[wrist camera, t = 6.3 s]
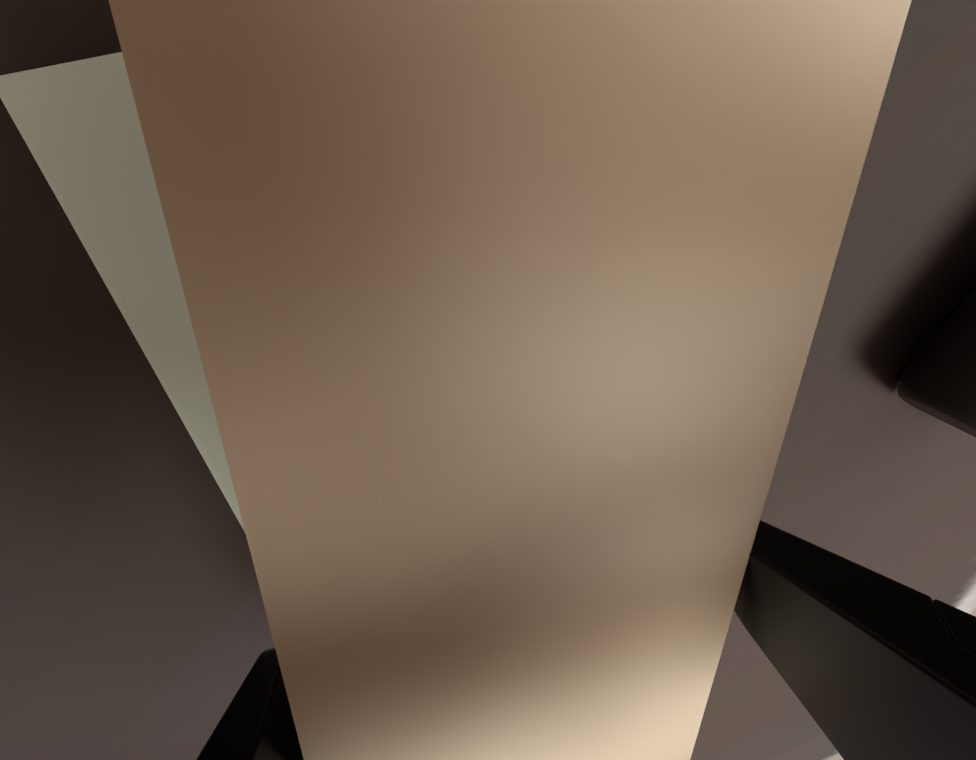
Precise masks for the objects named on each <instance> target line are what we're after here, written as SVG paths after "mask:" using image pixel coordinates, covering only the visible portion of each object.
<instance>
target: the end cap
mask: <svg viewBox="0 0 976 760" xmlns="http://www.w3.org/2000/svg"><path fill="white" fill-rule="evenodd" d="M896 383H897V384H899V387H898V389H897V391H898V395H899V396H900V397H901V398H902V399H903V400H904V401H906V402H907V403H909V404H910V405H911V406H913V407H915V408H917V409H919V410H921V411H923V412H926V413H928V414H930V415H932V416H934V417H936V418H938V419H940V420H942V421H944V422H946V423H948V424H950V425H952V426H954V427H956V428H958V429H960V430H962V431H964V432H966V433H968V434H970V435H972V436H974V437H976V287H975V288H974V289H973V291H972V292H971V293H970V294H969V295H968V297H967V298H966V299H965V300H964V301H963V302H962V304H961V305H960V306H959V307H958V308H957V310H956V311H955V312H954V313H953V314H952V315H951V317H950V318H949V319H948V320H947V321H946V323H945V324H944V325H943V326H942V327H941V328H940V330H939V331H938V332H937V333H936V334H935V336H934V337H933V338H932V339H931V340H930V341H929V343H928V344H927V345H926V346H925V347H924V349H923V350H922V351H921V352H920V353H919V354H918V356H917V357H916V358H915V359H914V360H913V361H912V363H911V364H910V365H909V366H908V367H907V369H906V370H905V371H904V372H903V373H902V374H901V376H900V377H899V378H898V379H897V381H896Z"/></svg>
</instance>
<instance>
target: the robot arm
mask: <svg viewBox="0 0 976 760" xmlns="http://www.w3.org/2000/svg"><path fill="white" fill-rule="evenodd" d="M734 611H735V612H736V614H737V616H738V617H739V619H740V620H741V622H742V624H743V625H744V626H745V628H746V629H747V631H748V632H749V633H750V635H751V636H752V637H753V639H754V640H755V641H756V643H757V644H758V645H759V647H760V648H761V649H762V651H763V652H764V653H765V655H766V656H767V657H768V659H769V660H770V661H771V663H772V664H773V665H774V667H775V668H776V669H777V671H778V672H779V673H780V675H781V676H782V677H783V679H784V680H785V681H786V683H787V684H788V685H789V687H790V688H791V689H792V691H793V692H794V693H795V695H796V696H797V697H798V699H799V700H800V701H801V703H802V704H803V705H804V707H805V708H806V709H807V711H808V712H809V713H810V715H811V716H812V717H813V719H814V720H815V722H816V723H817V724H818V726H819V727H820V728H821V730H822V731H823V732H824V734H825V735H826V736H827V738H828V739H829V740H830V742H831V743H832V744H833V746H834V747H835V748H836V750H837V751H838V752H839V754H840V755H841V756H842V757H843V759H844V760H976V617H975V616H973V615H970V614H968V613H966V612H963V611H961V610H959V609H957V608H955V607H952V606H950V605H948V604H946V603H943V602H941V601H939V600H932V599H931V597H929V596H927V595H925V594H923V593H921V592H919V591H916V590H914V589H912V588H910V587H907V586H905V585H903V584H901V583H899V582H896V581H894V580H892V579H890V578H887V577H885V576H883V575H881V574H879V573H876V572H874V571H872V570H870V569H867V568H865V567H863V566H861V565H859V564H856V563H854V562H852V561H850V560H847V559H845V558H843V557H841V556H839V555H836V554H834V553H832V552H830V551H827V550H825V549H823V548H821V547H819V546H816V545H814V544H812V543H810V542H807V541H805V540H803V539H801V538H798V537H796V536H794V535H792V534H790V533H787V532H785V531H783V530H781V529H778V528H776V527H774V526H772V525H770V524H767V523H765V522H763V521H761V520H760V522H759V525H758V528H757V532H756V535H755V539H754V542H753V546H752V549H751V552H750V554H749V559H748V563H747V566H746V570H745V573H744V576H743V580H742V583H741V587H740V590H739V594H738V597H737V601H736V604H735V607H734ZM197 760H304V759H303V755H302V751H301V747H300V743H299V739H298V735H297V731H296V728H295V724H294V720H293V716H292V712H291V708H290V704H289V700H288V696H287V693H286V689H285V685H284V681H283V677H282V673H281V669H280V665H279V661H278V657H277V654H276V650H275V647H274V648H271V649H268V650H265V651H264V652H262V653H261V654H260V656H259V657H258V659H257V660H256V662H255V664H254V665H253V667H252V669H251V670H250V672H249V674H248V675H247V677H246V678H245V680H244V682H243V683H242V685H241V687H240V688H239V690H238V692H237V693H236V695H235V697H234V698H233V700H232V702H231V703H230V705H229V707H228V708H227V710H226V712H225V713H224V715H223V717H222V718H221V720H220V721H219V723H218V725H217V726H216V728H215V730H214V731H213V733H212V735H211V736H210V738H209V740H208V741H207V743H206V745H205V746H204V748H203V750H202V751H201V753H200V755H199V756H198V758H197Z"/></svg>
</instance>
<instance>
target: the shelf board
mask: <svg viewBox="0 0 976 760" xmlns="http://www.w3.org/2000/svg"><path fill="white" fill-rule="evenodd" d="M109 4H110V8H111V12H112V15H113V19H114V23H115V27H116V31H117V35H118V39H119V43H120V47H121V50H122V54H123V58H124V62H125V66H126V70H127V74H128V78H129V82H130V86H131V89H132V93H133V97H134V101H135V105H136V109H137V113H138V117H139V121H140V124H141V128H142V132H143V136H144V140H145V144H146V148H147V152H148V156H149V159H150V163H151V167H152V171H153V175H154V179H155V183H156V187H157V191H158V194H159V198H160V202H161V206H162V210H163V214H164V218H165V222H166V226H167V229H168V233H169V237H170V241H171V245H172V249H173V253H174V257H175V261H176V265H177V268H178V272H179V276H180V280H181V284H182V288H183V292H184V296H185V300H186V303H187V307H188V311H189V315H190V319H191V323H192V327H193V331H194V335H195V338H196V342H197V346H198V350H199V354H200V358H201V362H202V366H203V370H204V373H205V377H206V381H207V385H208V389H209V393H210V397H211V401H212V405H213V408H214V412H215V416H216V420H217V424H218V428H219V432H220V436H221V440H222V443H223V447H224V451H225V455H226V459H227V463H228V467H229V471H230V475H231V479H232V482H233V486H234V490H235V494H236V498H237V502H238V506H239V510H240V514H241V517H242V521H243V525H244V529H245V533H246V537H247V541H248V545H249V549H250V552H251V556H252V560H253V564H254V568H255V572H256V576H257V580H258V584H259V587H260V591H261V595H262V599H263V603H264V607H265V611H266V615H267V619H268V622H269V626H270V630H271V634H272V638H273V642H274V646H275V650H276V654H277V657H278V661H279V665H280V669H281V673H282V677H283V681H284V685H285V689H286V693H287V696H288V700H289V704H290V708H291V712H292V716H293V720H294V724H295V728H296V731H297V735H298V739H299V743H300V747H301V751H302V755H303V759H304V760H690V758H691V755H692V751H693V748H694V745H695V741H696V738H697V734H698V731H699V727H700V724H701V721H702V717H703V714H704V710H705V707H706V703H707V700H708V697H709V693H710V690H711V686H712V683H713V679H714V676H715V673H716V669H717V666H718V662H719V659H720V655H721V652H722V649H723V645H724V642H725V638H726V635H727V631H728V628H729V625H730V621H731V618H732V614H733V611H734V607H735V604H736V601H737V597H738V594H739V590H740V587H741V583H742V580H743V576H744V573H745V570H746V566H747V563H748V559H749V554H750V552H751V549H752V546H753V542H754V539H755V535H756V532H757V528H758V525H759V522H760V518H761V515H762V511H763V508H764V504H765V501H766V498H767V494H768V491H769V487H770V484H771V480H772V477H773V474H774V470H775V467H776V463H777V460H778V456H779V453H780V450H781V446H782V443H783V439H784V436H785V432H786V429H787V426H788V422H789V419H790V415H791V412H792V408H793V405H794V402H795V398H796V395H797V391H798V388H799V384H800V381H801V378H802V374H803V371H804V367H805V364H806V360H807V357H808V353H809V350H810V347H811V343H812V340H813V336H814V333H815V329H816V326H817V323H818V319H819V316H820V312H821V309H822V305H823V302H824V299H825V295H826V292H827V288H828V285H829V281H830V278H831V275H832V271H833V268H834V264H835V261H836V257H837V254H838V251H839V247H840V244H841V240H842V237H843V233H844V230H845V227H846V223H847V220H848V216H849V213H850V209H851V206H852V203H853V199H854V196H855V192H856V189H857V185H858V182H859V179H860V175H861V172H862V168H863V165H864V161H865V158H866V154H867V151H868V148H869V144H870V141H871V137H872V134H873V130H874V127H875V124H876V120H877V117H878V113H879V110H880V106H881V103H882V100H883V96H884V93H885V89H886V86H887V82H888V79H889V76H890V72H891V69H892V65H893V62H894V58H895V55H896V52H897V48H898V45H899V41H900V38H901V34H902V31H903V28H904V24H905V21H906V17H907V14H908V10H909V7H910V4H911V0H109Z"/></svg>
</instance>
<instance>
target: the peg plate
mask: <svg viewBox="0 0 976 760" xmlns="http://www.w3.org/2000/svg"><path fill="white" fill-rule="evenodd" d="M0 98H1V100H2V102H3V103H4V105H5V107H6V109H7V111H8V112H9V114H10V116H11V118H12V119H13V121H14V123H15V125H16V127H17V128H18V130H19V132H20V134H21V135H22V137H23V139H24V141H25V143H26V144H27V146H28V148H29V150H30V151H31V153H32V155H33V157H34V159H35V160H36V162H37V164H38V166H39V167H40V169H41V171H42V173H43V175H44V176H45V178H46V180H47V182H48V183H49V185H50V187H51V189H52V191H53V192H54V194H55V196H56V198H57V199H58V201H59V203H60V205H61V207H62V208H63V210H64V212H65V214H66V215H67V217H68V219H69V221H70V223H71V224H72V226H73V228H74V230H75V231H76V233H77V235H78V237H79V239H80V240H81V242H82V244H83V246H84V247H85V249H86V251H87V253H88V255H89V256H90V258H91V260H92V262H93V263H94V265H95V267H96V269H97V271H98V272H99V274H100V276H101V278H102V279H103V281H104V283H105V285H106V287H107V288H108V290H109V292H110V294H111V295H112V297H113V299H114V301H115V303H116V304H117V306H118V308H119V310H120V311H121V313H122V315H123V317H124V319H125V320H126V322H127V324H128V326H129V327H130V329H131V331H132V333H133V335H134V336H135V338H136V340H137V342H138V343H139V345H140V347H141V349H142V351H143V352H144V354H145V356H146V358H147V359H148V361H149V363H150V365H151V367H152V368H153V370H154V372H155V374H156V375H157V377H158V379H159V381H160V383H161V384H162V386H163V388H164V390H165V391H166V393H167V395H168V397H169V399H170V400H171V402H172V404H173V406H174V407H175V409H176V411H177V413H178V415H179V416H180V418H181V420H182V422H183V423H184V425H185V427H186V429H187V430H188V432H189V434H190V436H191V438H192V439H193V441H194V443H195V445H196V446H197V448H198V450H199V452H200V454H201V455H202V457H203V459H204V461H205V462H206V464H207V466H208V468H209V470H210V471H211V473H212V475H213V477H214V478H215V480H216V482H217V484H218V486H219V487H220V489H221V491H222V493H223V494H224V496H225V498H226V500H227V502H228V503H229V505H230V507H231V509H232V510H233V512H234V514H235V516H236V518H237V519H238V521H239V523H240V525H241V526H242V528H243V530H244V532H245V529H244V525H243V521H242V517H241V514H240V510H239V506H238V502H237V498H236V494H235V490H234V486H233V482H232V479H231V475H230V471H229V467H228V463H227V459H226V455H225V451H224V447H223V443H222V440H221V436H220V432H219V428H218V424H217V420H216V416H215V412H214V408H213V405H212V401H211V397H210V393H209V389H208V385H207V381H206V377H205V373H204V370H203V366H202V362H201V358H200V354H199V350H198V346H197V342H196V338H195V335H194V331H193V327H192V323H191V319H190V315H189V311H188V307H187V303H186V300H185V296H184V292H183V288H182V284H181V280H180V276H179V272H178V268H177V265H176V261H175V257H174V253H173V249H172V245H171V241H170V237H169V233H168V229H167V226H166V222H165V218H164V214H163V210H162V206H161V202H160V198H159V194H158V191H157V187H156V183H155V179H154V175H153V171H152V167H151V163H150V159H149V156H148V152H147V148H146V144H145V140H144V136H143V132H142V128H141V124H140V121H139V117H138V113H137V109H136V105H135V101H134V97H133V93H132V89H131V86H130V82H129V78H128V74H127V70H126V66H125V62H124V58H123V54H122V52H119V53H113V54H108V55H103V56H98V57H93V58H88V59H83V60H78V61H73V62H67V63H62V64H57V65H52V66H47V67H42V68H37V69H32V70H26V71H21V72H16V73H11V74H6V75H1V76H0ZM245 534H246V533H245Z"/></svg>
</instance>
